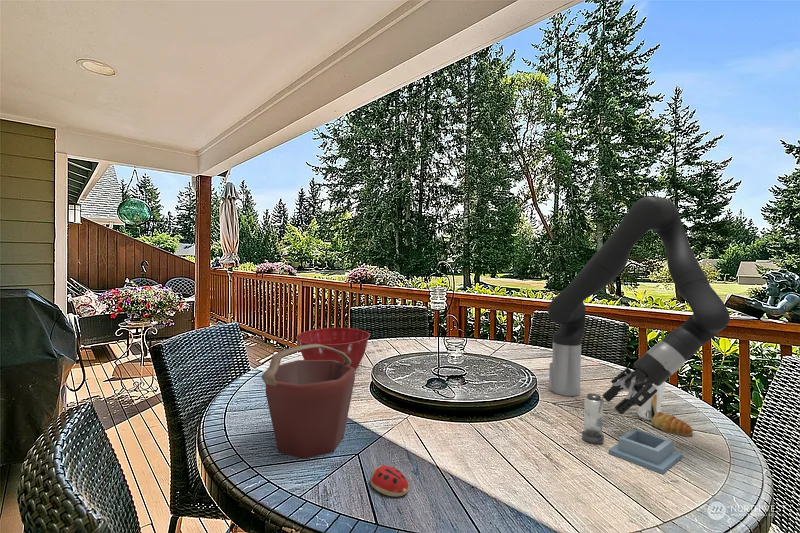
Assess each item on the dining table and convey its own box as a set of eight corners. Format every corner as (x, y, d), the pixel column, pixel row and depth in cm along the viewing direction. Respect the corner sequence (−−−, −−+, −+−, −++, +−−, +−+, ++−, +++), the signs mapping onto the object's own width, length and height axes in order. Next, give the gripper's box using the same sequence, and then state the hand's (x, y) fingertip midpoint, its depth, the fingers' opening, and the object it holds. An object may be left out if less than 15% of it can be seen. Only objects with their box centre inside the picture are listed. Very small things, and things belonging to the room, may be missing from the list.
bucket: (267, 473, 94) (266, 362, 93) (252, 433, 114) (250, 341, 112) (368, 449, 105) (368, 350, 104) (339, 417, 125) (338, 333, 124)
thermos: (578, 439, 111) (579, 394, 111) (588, 433, 115) (589, 390, 114) (597, 446, 107) (598, 400, 107) (607, 440, 111) (608, 396, 110)
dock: (608, 453, 104) (608, 437, 104) (630, 439, 111) (630, 424, 111) (662, 474, 94) (663, 456, 94) (682, 457, 102) (683, 441, 102)
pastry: (697, 433, 115) (697, 420, 115) (685, 440, 112) (686, 426, 111) (660, 421, 123) (660, 408, 123) (648, 427, 119) (649, 414, 119)
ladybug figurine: (384, 472, 95) (384, 457, 95) (417, 490, 88) (417, 473, 88) (362, 485, 90) (362, 468, 90) (395, 504, 83) (395, 487, 83)
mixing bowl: (366, 385, 153) (366, 343, 152) (287, 384, 154) (287, 342, 153) (372, 363, 181) (372, 327, 181) (306, 363, 182) (305, 327, 181)
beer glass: (667, 422, 122) (669, 371, 121) (641, 420, 123) (642, 369, 123) (657, 413, 129) (659, 364, 128) (633, 411, 130) (634, 363, 129)
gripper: (636, 345, 115) (591, 385, 117) (662, 359, 101) (611, 404, 103) (656, 365, 115) (610, 405, 117) (685, 382, 101) (633, 427, 103)
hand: (611, 405), depth 110 cm, fingers open, 8 cm apart
